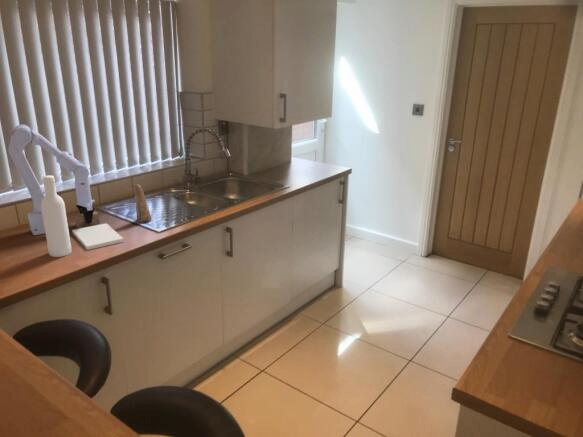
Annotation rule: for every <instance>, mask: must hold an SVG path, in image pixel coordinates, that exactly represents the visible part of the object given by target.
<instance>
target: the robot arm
mask: <svg viewBox="0 0 583 437" xmlns="http://www.w3.org/2000/svg"><path fill="white" fill-rule="evenodd" d="M10 135H11V136H10V140H9V145H8V149H7V152H8V155H9V156H10V158H11V160H12V162H13V164H14V166H15V168H16V169H17V171H18V174H19V175H20V177H21V179H22V181H23V182H24V185H25V186H26V188H27V190H28V192H29V195H30V197H31V200H32V207H33V209H32V210H33V211H31V212H28V213H27V217H28V218H27V219H28V224H29V231H30V232H31V233H32V235H33V236H37V235H42V234H46V233H45V227H44V221H43V215H42V209H41V202H42V199H43V198H44V197H45V196H46V194H45V190H44V189H43V187H42V186H41V184H40V182H39V181H38V178H37V177H36V175H35V173H34V170H33V169H32V167H31V165H30V163H29V161H28V159H27V158H26V156H25V153H24V150H25V147H26V146H27V145H28V144H29V143H30V145H33V146H39V147H41V148H42V149H44V150H45V151H46V152H48V153H49V154H51V155H52V156H53V157H55V160H56V163H58V164H59V165H60V166H62V167H63V168H64V169H65V170H66V171H68V172H70V173H73V177H74V187H75V194H76V205H75V207H76V208H77V209H78V211H79V214H82V213H83V215H84V218H85V222H86V224H89V223H92V216H93V212H94V211H96V210H95V209H96V208H95V207H94V206H93V203H95V202H96V201H95V199H92V193H91V192H92V191H91V186H90V184H91V183H90V180H89V179H90V178H89V175H90V172H89V170H88V168H87V165H85V164H84V163H83V162H82V160H78V159H77V158H75V157H74V156H73V153H71V152H68V151H63V150H62V151H61V150H60V149H59V148H58V147H56V146H55V145H54V144H53V143H52V142H51V141H49V140H48V139H47V138H46V137H44V136H43V135H42V134H40V133H39V132H38V131H36V130H35V129H33V128H31V127H30V126H28V124H23V123H22V124H18V125H16V126H15V127H14V129H13V130H12V132H11V134H10Z"/></svg>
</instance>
